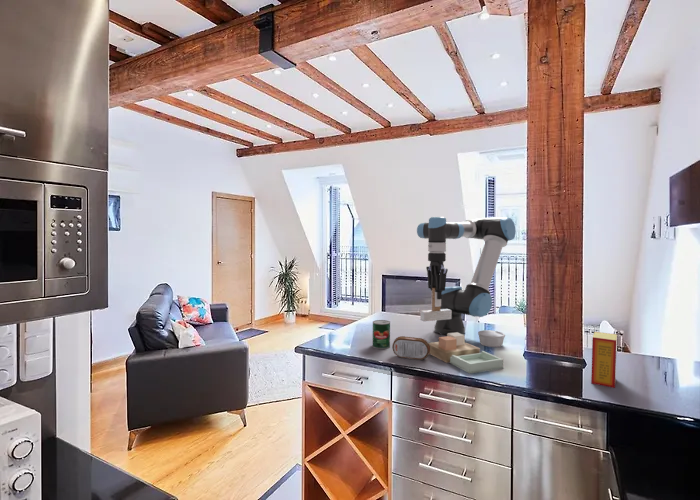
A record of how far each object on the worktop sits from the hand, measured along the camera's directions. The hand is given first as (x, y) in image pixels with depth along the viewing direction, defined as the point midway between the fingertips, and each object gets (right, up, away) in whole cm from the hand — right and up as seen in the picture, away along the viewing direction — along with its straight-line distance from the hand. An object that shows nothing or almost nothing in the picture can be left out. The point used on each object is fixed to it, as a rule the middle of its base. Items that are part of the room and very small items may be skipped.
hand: (436, 305), depth 171 cm
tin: (-13, -19, -14) cm, 27 cm away
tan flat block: (+4, -19, -11) cm, 22 cm away
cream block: (+7, -15, -8) cm, 18 cm away
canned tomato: (-24, -19, +2) cm, 30 cm away
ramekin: (+26, -19, +5) cm, 33 cm away
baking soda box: (+49, -20, -39) cm, 65 cm away
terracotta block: (+1, -15, -14) cm, 21 cm away
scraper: (0, -6, 0) cm, 6 cm away
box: (+10, -19, -23) cm, 32 cm away
